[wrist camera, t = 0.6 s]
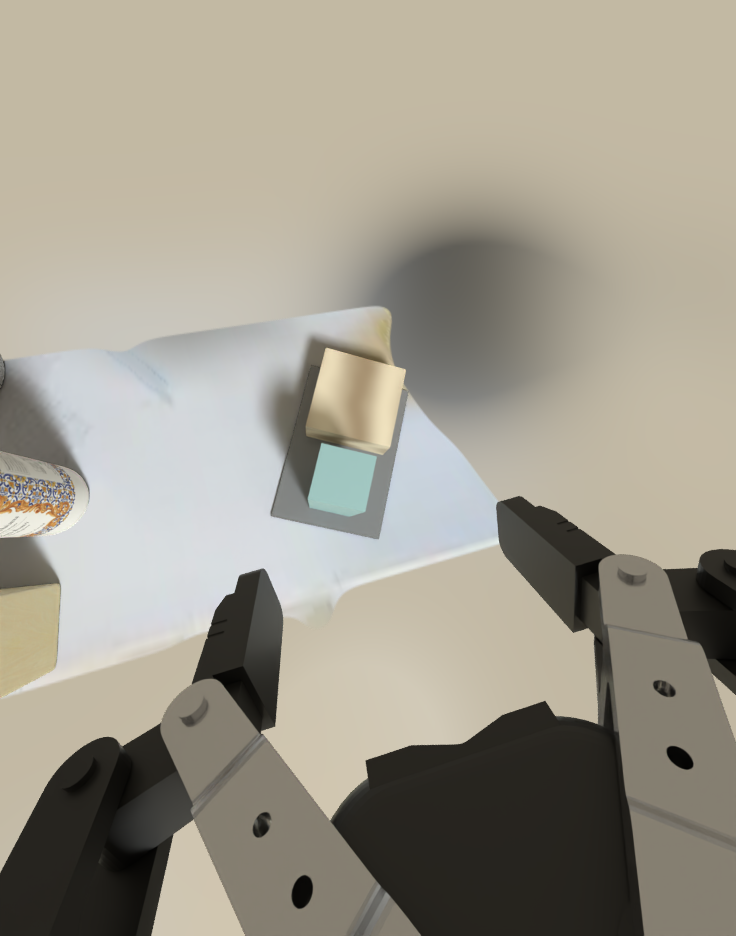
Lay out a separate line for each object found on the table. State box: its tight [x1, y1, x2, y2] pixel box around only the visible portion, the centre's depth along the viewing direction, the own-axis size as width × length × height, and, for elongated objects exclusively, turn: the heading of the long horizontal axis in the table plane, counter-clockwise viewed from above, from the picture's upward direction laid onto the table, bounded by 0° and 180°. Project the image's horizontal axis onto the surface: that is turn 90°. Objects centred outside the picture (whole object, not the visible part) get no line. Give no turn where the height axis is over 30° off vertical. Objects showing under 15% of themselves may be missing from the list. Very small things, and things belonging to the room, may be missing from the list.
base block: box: [306, 348, 406, 455], centre depth 39 cm, size 9×9×4 cm
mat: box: [271, 365, 409, 539], centre depth 40 cm, size 12×18×1 cm, turn 168°
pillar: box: [308, 443, 377, 517], centre depth 33 cm, size 4×4×12 cm
